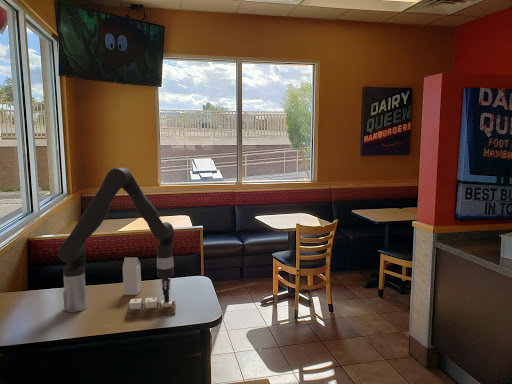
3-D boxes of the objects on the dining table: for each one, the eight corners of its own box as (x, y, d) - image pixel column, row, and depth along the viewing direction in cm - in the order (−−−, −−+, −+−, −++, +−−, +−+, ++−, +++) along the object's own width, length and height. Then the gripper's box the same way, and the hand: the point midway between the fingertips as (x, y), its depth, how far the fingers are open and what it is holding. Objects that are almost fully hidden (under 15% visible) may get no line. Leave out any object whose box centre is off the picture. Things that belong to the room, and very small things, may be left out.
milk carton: (137, 295, 207) (135, 259, 205) (123, 295, 207) (122, 259, 205) (141, 290, 214) (139, 255, 212) (128, 290, 214) (126, 255, 212)
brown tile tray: (125, 318, 180) (125, 311, 179) (128, 309, 189) (128, 303, 189) (175, 314, 183) (175, 307, 183) (176, 305, 193) (175, 299, 193)
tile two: (145, 308, 183) (145, 301, 183) (146, 304, 188) (146, 297, 188) (156, 307, 184) (156, 301, 184) (157, 303, 189) (157, 296, 188)
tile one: (129, 309, 182) (129, 303, 182) (131, 305, 187) (130, 298, 186) (140, 308, 183) (140, 302, 182) (142, 304, 188) (141, 298, 187)
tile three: (161, 310, 185) (160, 304, 184) (161, 306, 189) (161, 299, 189) (172, 309, 185) (171, 303, 185) (172, 305, 190) (172, 299, 190)
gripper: (158, 262, 191) (159, 296, 193) (155, 270, 178) (157, 307, 180) (174, 261, 192) (175, 295, 194) (173, 269, 179) (174, 306, 181)
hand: (166, 301), depth 187 cm, fingers closed
